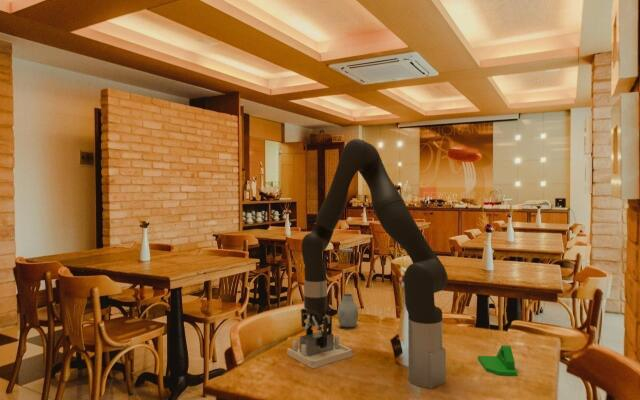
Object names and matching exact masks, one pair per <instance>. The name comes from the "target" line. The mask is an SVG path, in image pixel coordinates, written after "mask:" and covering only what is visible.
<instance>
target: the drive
mask: <svg viewBox="0 0 640 400" xmlns="http://www.w3.org/2000/svg"><path fill="white" fill-rule="evenodd" d="M322 332H323V330H322ZM334 342H335V335H334V333H332V334H331V335H328V336H327V346H326V347H325V348H320V334H319V331H316V332H313V333H312V334H308V335H306V334H304V335H300V336H299V348H300V352H301V345H302V344H306V352H307V356H308V357H309V356H312V355H316V354H319V353H323V352H326V351H330V350H333V349H334Z"/></svg>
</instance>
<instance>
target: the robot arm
mask: <svg viewBox="0 0 640 400" xmlns="http://www.w3.org/2000/svg"><path fill="white" fill-rule="evenodd" d="M340 154H341V155H340V157H339V160H338V163H337V167H336V169H335V171H334V175H333V178H332V181H331V184H330V187H329V189H328V192H327V194H326V196H325V198H324V201H323V202H322V205H321V206H320V209H318V210H319V211H318V213H317V214H316V217H315V223H314V227H313V228H312V231H311V232H310V233H307V234H305V235H304V237H303V238H302V241H301V254H302V260H303V265H304V285H303V307H304V308H301V310H300V313H301V314H300V317H301V318H300V319H301V320H300V321H301V327H302V328H304V330H305V335H308V334H312V333H314V330H313V328H314V326H315V329H316V330H317V332H319V334H320V348H325V347H326V346H327V336H328V335H331V334H333V332H332V329H333V323H332V322H333V316H331V315H329V316H328V315H327V314H326V312H325V311H326V309H327V308H328V283H327V264H326V263H325V262H324V254H323V252H324V251H325V250H326V249H327V247H328V245H329V244H330V242H331V239H332V236H333V234H334V231H335V228H336V226H337V225H338V223H339V221H340V219H341V218H342V216H343V213H344V211H345V208H346V205H347V201H348V195H349V190H350V186H351V183H352V181H353V179H354V177H355V175H356V174H357V172H359V174H360V176H361V177H362V179H363V180H364V182H365V183H366V185H367V187H368V189H369V192H370V198H371V204H372V205H371V206H372V208H373V212H374V214H375V216H376V218H377V221H379V224H380V225H381V227H382V229H383V230H384V231H385V234H387V236H389V237H390V238H391V239H392V240H394V241H395V242H396V243H397V244H398V245H399V246H400V247H402V249H404V251H405V252H406V253H407V255H408V257H409V258H410V260H411V262H412V263H411V264H410V265H408V266H407V268H406V269H405V272H404V277H403V288H404V290H403V291H404V305H405V309H406V311H407V316H408V317H407V319H408V321H407V322H408V323H407V326H408V329H407V330H408V331H407V332H408V333H407V335H408V336H407V337H408V338H407V339H408V341H407V342H408V345H407V346H408V347H407V348H408V352H407V353H408V357H407V358H408V360H407V361H408V381H409V382H410V383H412V384H413V385H415V386H418V387H422V388H423V387H424V388H429V389H433V388H437V387H439V386H441V385H444V384H445V383H446V382H447V381H446V379H447V378H446V377H447V375H446V372H447V371H446V370H447V366H446V365H447V364H446V362H447V359H446V356H447V355H446V351H447V350H446V348H445V347H443V311H442V308H440V307H438V306H437V305H436V304H435V293H439V292H441V291H443V290H445V288H446V287H447V285H448V273H447V270H446V268H445V266H444V265H443V263H442V261H441V260H440V258H439V257H438V256H437V255H436V253H435V251H434V250H433V249H432V247H431V246H430V245H429V243H428V242H427V239H426V238H425V236H424V234H423V233H422V231H421V229H420V227H419V225H417V223H416V221H415V219H414V218H413V215H412V213H411V211H410V210H409V207H408V206H407V204H406V202H405V200H404V199H403V197H402V196H401V194H400V192H399V191H398V189H397V187H396V185H395V184H394V183H393V181H392V179H391V178H390V176H389V174H388V172H387V169H386V168H385V165H384V163H383V160H382V158H381V155H380V153H379V151H378V149H377V148H376V147H375V146H374V145H372V144H371V143H369V142H367V141H365V140H363V139H360V138H353V139H351V140H349V141H348V142H347V143H346V144H345V145H344V147H343V149H342V152H341V153H340ZM322 331H323V332H322Z"/></svg>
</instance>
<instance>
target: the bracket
mask: <svg viewBox="0 0 640 400" xmlns="http://www.w3.org/2000/svg"><path fill="white" fill-rule="evenodd" d="M477 360H478V362H479V363H480V365H481V366H482V367H483V369H484V370H485V372H487V373H490V374H493V375H497V376H501V377H517V376H518V371H516V369H515V368H516V367H515V363H516V362H515V358H514V355H513V351H512V347H511V345H507V344H505V345H501V346H500V348H499V351H498V352H497V354H496V355H477Z"/></svg>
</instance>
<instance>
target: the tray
mask: <svg viewBox="0 0 640 400" xmlns="http://www.w3.org/2000/svg"><path fill="white" fill-rule="evenodd" d="M298 346H299V345H298V340H297V339H292V349H291V348H290V347H288V348H287V349H286V351H287V352H286V353H287V354H286V355H287V356H289V357H291V358H292V359H294V360H296V361H298V362H299V363H301V364H303V365H305V366H307V367H309V368H311V369H316V368H318V367H319V366H320V367H323V366H326V365H329V364H333V363H336V362H339V361H342V360H345V359H348V358H351V357H354V349H352V348H350V347H348V346H345V345H344V344H341V343H340V335H334V349H333V350H330V351H326V352H323V353H319V354H316V355H312V356H309V357H308V356H307V352H306V344H302V345H301V352H300V347H299V348H298Z"/></svg>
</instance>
